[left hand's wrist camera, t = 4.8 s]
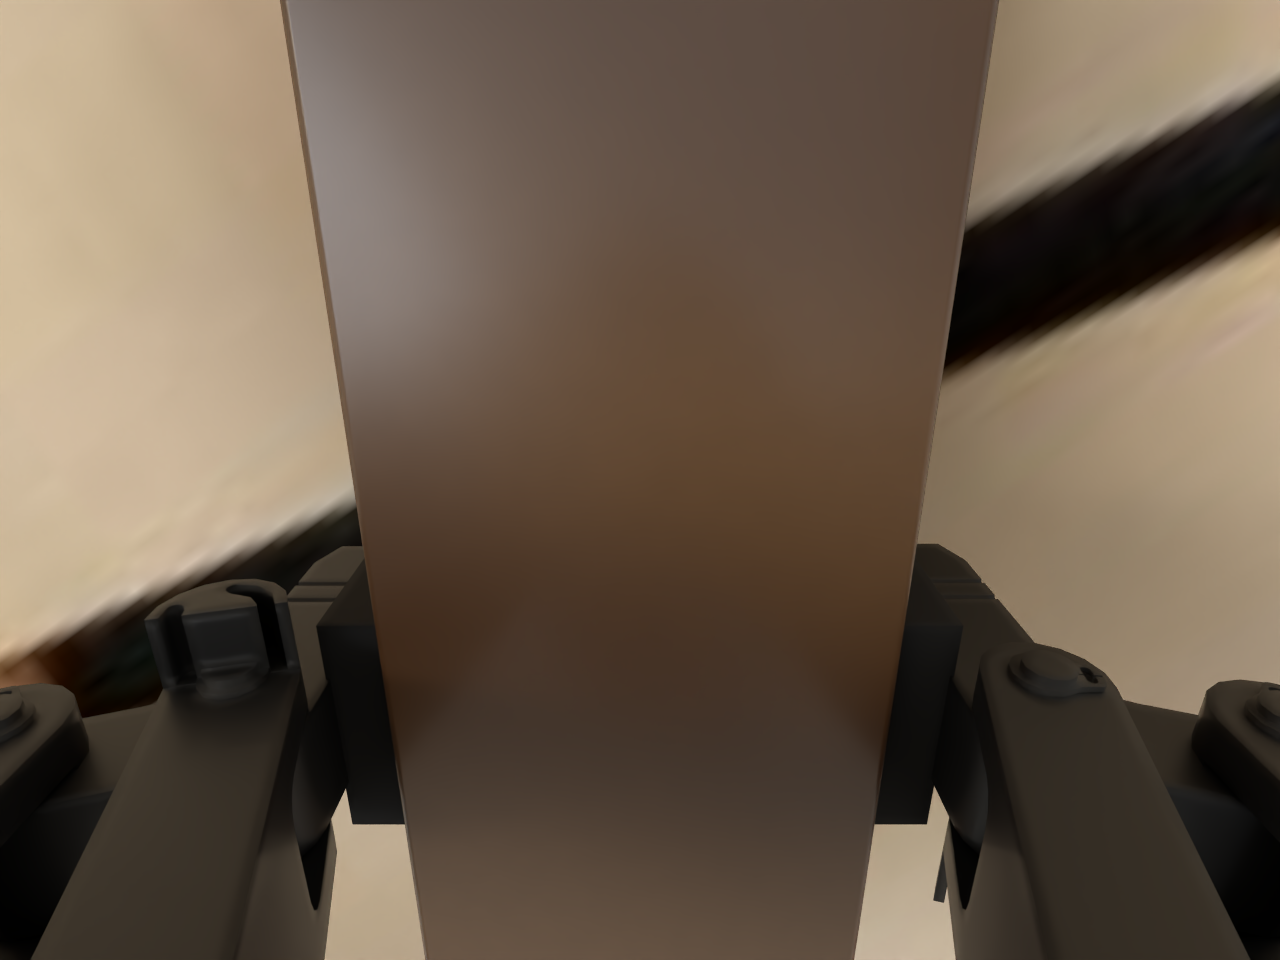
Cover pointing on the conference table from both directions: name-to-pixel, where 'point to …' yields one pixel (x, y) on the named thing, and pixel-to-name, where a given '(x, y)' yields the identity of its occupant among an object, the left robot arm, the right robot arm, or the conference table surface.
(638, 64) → the plank
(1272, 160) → the conference table surface
